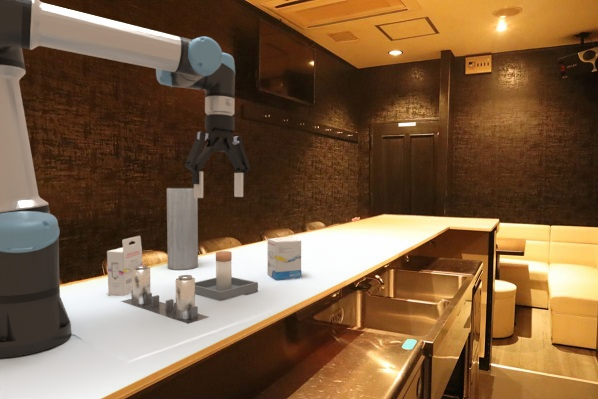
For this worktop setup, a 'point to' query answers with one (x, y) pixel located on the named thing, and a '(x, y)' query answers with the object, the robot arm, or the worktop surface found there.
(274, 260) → the ink box
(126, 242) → the ink cartridge box
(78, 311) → the worktop surface
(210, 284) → the tray
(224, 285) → the cylinder
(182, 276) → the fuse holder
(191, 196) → the vase
